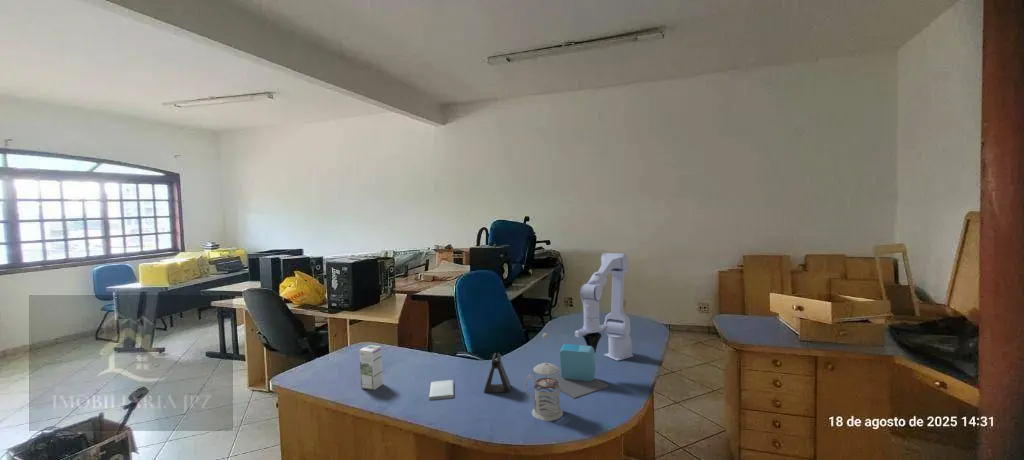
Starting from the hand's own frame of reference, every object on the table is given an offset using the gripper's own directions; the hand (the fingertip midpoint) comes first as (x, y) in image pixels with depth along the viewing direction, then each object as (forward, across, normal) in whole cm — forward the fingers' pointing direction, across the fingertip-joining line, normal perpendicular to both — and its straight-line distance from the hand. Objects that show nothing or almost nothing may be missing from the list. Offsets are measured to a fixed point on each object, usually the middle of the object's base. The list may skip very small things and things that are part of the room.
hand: (592, 352), depth 149 cm
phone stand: (+10, +34, -12) cm, 37 cm away
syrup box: (+10, +71, -40) cm, 82 cm away
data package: (+9, +5, -2) cm, 10 cm away
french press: (+10, +30, +11) cm, 33 cm away
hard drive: (+10, +51, -22) cm, 56 cm away
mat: (+10, +8, 0) cm, 13 cm away
